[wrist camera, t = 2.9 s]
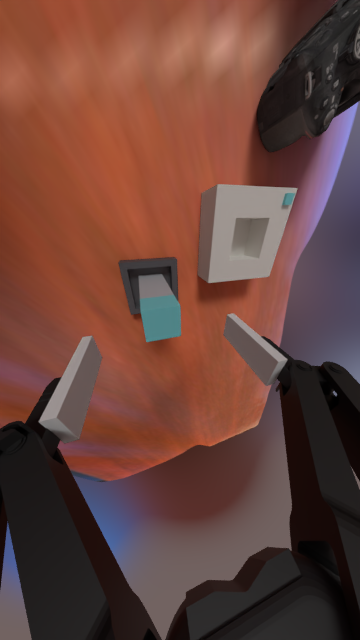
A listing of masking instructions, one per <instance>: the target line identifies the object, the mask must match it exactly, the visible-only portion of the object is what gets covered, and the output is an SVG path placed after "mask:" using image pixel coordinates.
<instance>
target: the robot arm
mask: <svg viewBox="0 0 360 640" xmlns="http://www.w3.org/2000/svg"><path fill="white" fill-rule="evenodd" d="M223 335H224V336H225V337H226V339H227V340H228V341H229V342H230V343H231V345H232V346H233V347H234V348H235V349H236V351H237V352H238V353H239V354H240V355H241V357H242V358H243V359H244V360H245V361H246V363H247V364H248V365H249V366H250V367H251V369H252V370H253V371H254V372H255V373H256V375H257V376H258V377H259V378H260V379H261V381H262V382H263V383H264V384H265V385H266V386H268V385H271V384H274V383H275V381H276V379H278V380H279V381H280V383H279V385H278V386H277V388H276V392H277V391H278V390H280V399H281V408H282V417H283V426H284V435H285V444H286V453H287V462H288V471H289V480H290V489H291V498H292V511H291V515H290V537H291V547H292V551H290V550H289V548H273V547H267V548H265V549H263V550H261V551H259V552H258V553H256V554H254V555H252V556H250V557H249V558H248V560H247V561H246V562H245V564H244V565H243V567H242V568H241V570H240V571H239V572H238V574H237V575H236V577H235V578H234V579H233V580H231V581H221V580H207V581H205V582H204V583H202V584H200V585H198V586H196V587H195V588H193V589H191V590H189V591H187V592H186V599H185V600H184V601H183V603H182V604H181V605H180V607H179V609H178V611H177V613H176V614H175V616H174V618H173V621H172V623H171V625H170V628H169V631H168V633H167V637H166V639H165V640H360V490H359V487H358V484H357V482H356V479H355V476H354V474H353V471H352V469H353V470H354V472H355V474H356V476H357V477H358V479H359V481H360V384H359V383H358V382H357V381H356V380H355V379H354V378H353V377H352V375H351V374H350V373H349V372H348V371H347V370H346V369H345V368H343V367H342V366H340V365H338V364H336V363H333V362H324V363H323V364H322V365H321V366H311V365H309V364H308V363H306V362H304V361H301V360H294V359H293V358H292V357H290V356H289V355H288V354H287V353H286V352H284V351H283V350H282V349H281V348H279V347H278V346H277V345H276V344H274V343H273V342H272V341H271V340H270V339H268V338H266V337H264V336H260V335H258V334H257V333H256V332H255V331H254V330H252V329H251V328H250V327H249V326H248V325H247V324H245V323H244V322H243V321H242V320H241V319H240V318H238V317H237V316H236V315H235V314H234V313H233V314H227V318H226V324H225V329H224V334H223ZM101 360H102V356H101V354H100V351H99V349H98V347H97V345H96V343H95V340H94V338H93V336H87V337H82V339H81V341H80V343H79V345H78V347H77V349H76V351H75V353H74V355H73V357H72V359H71V360H70V362H69V364H68V366H67V368H66V370H65V372H64V374H63V376H62V377H60V378H55V379H54V380H53V381H52V382H51V383H50V384H49V385H48V386H47V387H46V389H45V390H44V392H43V394H42V396H41V397H40V399H39V402H37V404H36V406H35V407H34V409H33V411H32V413H31V414H30V416H29V418H28V419H27V421H26V423H25V424H24V423H23V422H22V421H15V422H12V423H9V424H7V425H6V426H4V427H2V428H1V429H0V587H1V578H2V568H3V558H4V549H5V540H6V530H7V521H8V524H9V529H10V534H11V539H12V544H13V549H14V554H15V559H16V564H17V568H18V574H19V578H20V583H21V588H22V593H23V598H24V603H25V608H26V613H27V618H28V623H29V628H30V633H31V638H32V640H162V639H161V637H160V636H159V634H158V632H157V630H156V628H155V626H154V624H153V622H152V620H151V618H150V616H149V614H148V613H147V611H146V609H145V607H144V606H143V604H142V602H141V600H140V599H139V597H138V596H137V595H136V594H135V593H134V592H133V591H132V589H131V588H130V586H129V584H128V583H127V581H126V579H125V577H124V575H123V573H122V571H121V569H120V567H119V565H118V563H117V561H116V559H115V557H114V555H113V553H112V551H111V550H110V547H109V546H108V544H107V542H106V540H105V538H104V536H103V534H102V532H101V530H100V528H99V526H98V524H97V522H96V520H95V518H94V516H93V514H92V512H91V510H90V508H89V507H88V505H87V503H86V501H85V499H84V497H83V495H82V493H81V491H80V489H79V487H78V485H77V483H76V481H75V479H74V477H73V475H72V473H71V471H70V469H69V468H68V466H67V464H66V462H65V460H64V458H63V456H62V454H61V452H60V450H59V449H58V448H57V447H58V444H59V441H60V440H61V441H62V442H63V443H68V442H72V441H75V440H79V439H80V435H81V432H82V428H83V424H84V421H85V417H86V414H87V410H88V407H89V403H90V399H91V396H92V392H93V389H94V385H95V382H96V378H97V375H98V371H99V367H100V364H101ZM333 391H335V392H336V393H337V396H335V395H334V394H333ZM350 465H351V466H350ZM351 467H352V468H351Z"/></svg>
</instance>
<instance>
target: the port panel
mask: <svg viewBox="0 0 360 640" xmlns="http://www.w3.org/2000/svg"><path fill="white" fill-rule="evenodd" d="M297 189H298V188H284V187H264V186H243V185H222V184H217V185H215V186H214V187H212V188H210V189H208V190H206V191H204V192H203V193H202V195H201V215H200V235H199V255H198V276H199V277H201V278H202V279H203V280H205V281H206V282H207V283H214V282H224V281H233V280H242V279H251V278H261V277H269V275H270V272H271V269H272V266H273V263H274V260H275V257H276V253H277V250H278V247H279V244H280V241H281V238H282V235H283V232H284V229H285V226H286V223H287V220H288V217H289V214H290V210H291V207H292V204H293V201H294V198H295V195H296V192H297Z"/></svg>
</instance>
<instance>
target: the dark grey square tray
mask: <svg viewBox="0 0 360 640" xmlns="http://www.w3.org/2000/svg"><path fill="white" fill-rule="evenodd" d="M119 267H120V271H121V275H122V279H123V284H124V288H125V292H126V296H127V300H128V304H129V308H130V312H131V315H132V314H139V313H141V310H140V293H139V275H150V274H162V275H163V277H164V279H165V280H166V282H167V284H168V285H169V287H170V289H171V291H172V292H173V294H174V296H175V297H176V299H177V301H178V279H177V259H176V258H175V257H168V258H153V259H137V260H121V261H119Z"/></svg>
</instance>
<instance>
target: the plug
mask: <svg viewBox="0 0 360 640" xmlns="http://www.w3.org/2000/svg"><path fill="white" fill-rule="evenodd" d="M139 293H140V310H141V316H142V321H143V326H144V331H145V336H146V342H150V341H156V340H161V339H167V338H172V337H178V336H181V313H180V304H179V303H178V301H177V299H176V297H175V296H174V294H173V292H172V291H171V289H170V287H169V285H168V284H167V282H166V280H165V279H164V277H163V275H162V274H150V275H139Z"/></svg>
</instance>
